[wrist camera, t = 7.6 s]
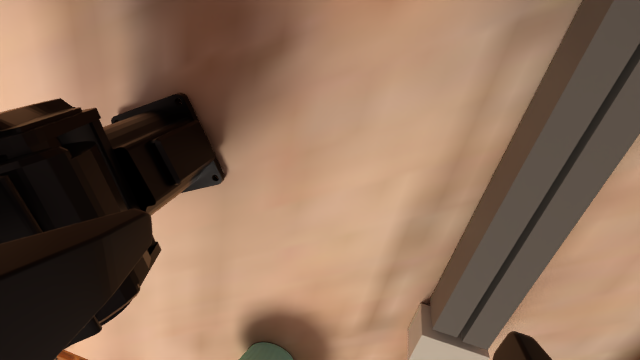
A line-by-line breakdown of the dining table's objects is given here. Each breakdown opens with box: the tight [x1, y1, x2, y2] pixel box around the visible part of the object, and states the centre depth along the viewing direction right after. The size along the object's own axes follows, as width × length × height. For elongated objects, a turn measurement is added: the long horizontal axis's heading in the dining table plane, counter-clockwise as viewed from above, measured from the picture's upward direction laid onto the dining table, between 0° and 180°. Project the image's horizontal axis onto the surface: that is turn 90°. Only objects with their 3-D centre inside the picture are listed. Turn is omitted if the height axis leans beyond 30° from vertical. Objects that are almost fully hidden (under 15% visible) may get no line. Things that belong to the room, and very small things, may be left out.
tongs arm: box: [430, 0, 640, 337], centre depth 17 cm, size 24×2×3 cm, turn 169°
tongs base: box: [408, 43, 640, 360], centre depth 17 cm, size 28×5×3 cm, turn 169°
